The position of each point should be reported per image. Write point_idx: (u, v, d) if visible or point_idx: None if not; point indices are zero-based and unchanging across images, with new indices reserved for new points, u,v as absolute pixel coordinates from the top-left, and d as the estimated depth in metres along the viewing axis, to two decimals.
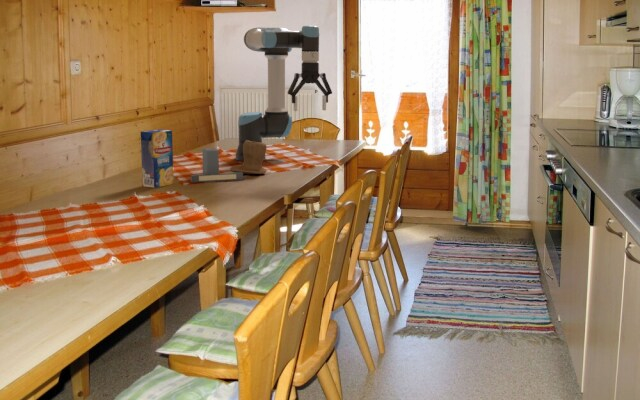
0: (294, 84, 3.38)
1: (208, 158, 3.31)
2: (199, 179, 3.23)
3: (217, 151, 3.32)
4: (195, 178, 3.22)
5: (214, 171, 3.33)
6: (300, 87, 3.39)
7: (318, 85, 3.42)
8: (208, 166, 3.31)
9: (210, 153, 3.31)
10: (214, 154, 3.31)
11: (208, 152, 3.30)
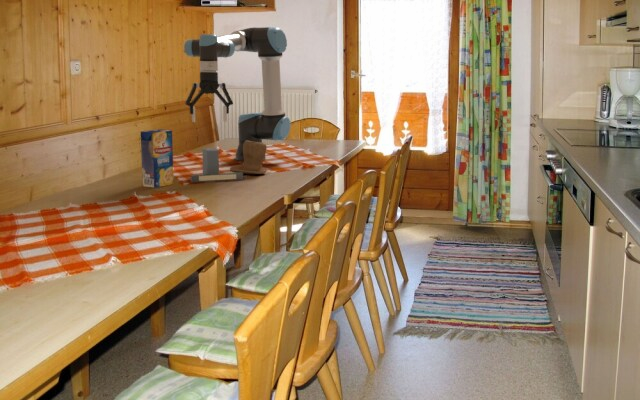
0: (191, 94, 3.26)
1: (208, 158, 3.31)
2: (199, 179, 3.23)
3: (217, 151, 3.32)
4: (195, 178, 3.22)
5: (214, 171, 3.33)
6: (198, 97, 3.28)
7: (218, 95, 3.31)
8: (208, 166, 3.31)
9: (210, 153, 3.31)
10: (214, 154, 3.31)
11: (208, 152, 3.30)
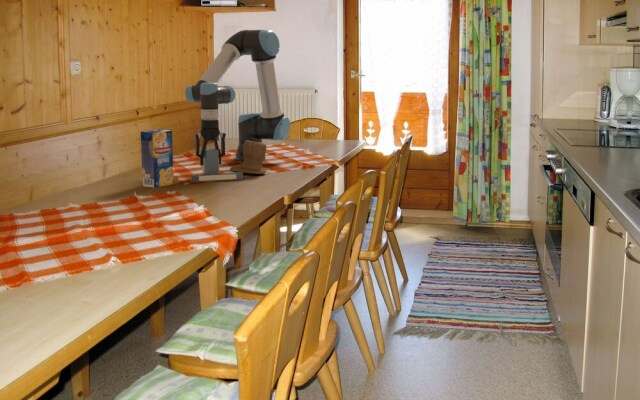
0: (198, 146, 3.31)
1: (208, 158, 3.31)
2: (199, 179, 3.23)
3: (217, 151, 3.32)
4: (195, 178, 3.22)
5: (214, 171, 3.33)
6: (204, 147, 3.33)
7: (214, 144, 3.34)
8: (208, 166, 3.31)
9: (210, 153, 3.31)
10: (214, 154, 3.31)
11: (208, 152, 3.30)
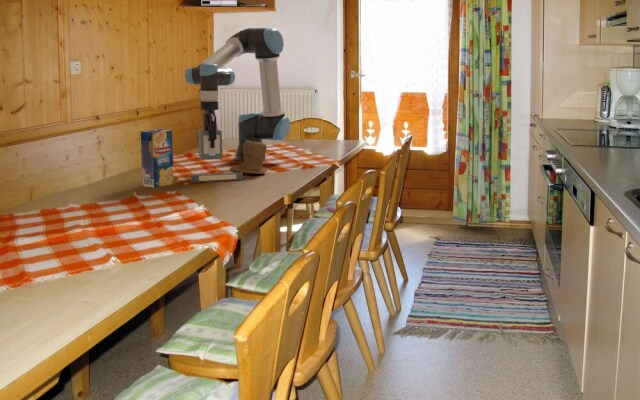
0: (204, 125, 3.38)
1: None
2: (199, 179, 3.23)
3: (200, 132, 3.30)
4: (195, 178, 3.22)
5: (200, 152, 3.33)
6: (205, 128, 3.35)
7: None
8: (199, 146, 3.35)
9: (199, 133, 3.33)
10: (200, 135, 3.32)
11: (198, 132, 3.34)
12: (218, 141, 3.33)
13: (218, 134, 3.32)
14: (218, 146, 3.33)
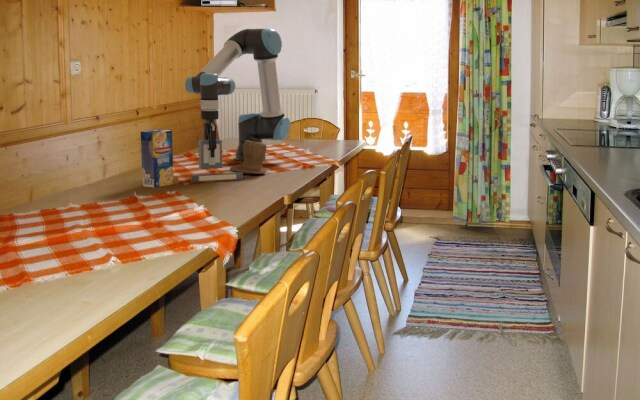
0: (204, 134, 3.38)
1: None
2: (199, 179, 3.23)
3: (200, 142, 3.31)
4: (195, 178, 3.22)
5: (200, 161, 3.34)
6: (205, 137, 3.36)
7: (209, 135, 3.32)
8: (199, 155, 3.36)
9: (199, 143, 3.34)
10: (200, 144, 3.32)
11: None
12: (218, 150, 3.34)
13: (218, 144, 3.33)
14: (218, 155, 3.34)
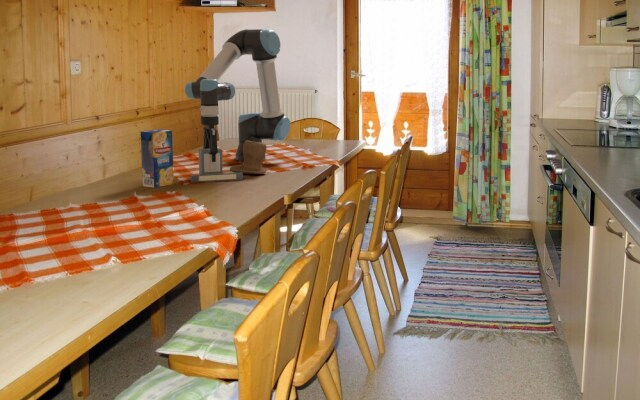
0: None
1: (199, 156, 3.36)
2: (199, 179, 3.23)
3: (201, 151, 3.32)
4: (195, 178, 3.22)
5: (200, 170, 3.35)
6: (205, 141, 3.37)
7: None
8: (199, 164, 3.37)
9: (199, 152, 3.35)
10: (200, 153, 3.33)
11: (199, 150, 3.35)
12: (218, 159, 3.35)
13: (218, 153, 3.34)
14: (218, 164, 3.35)
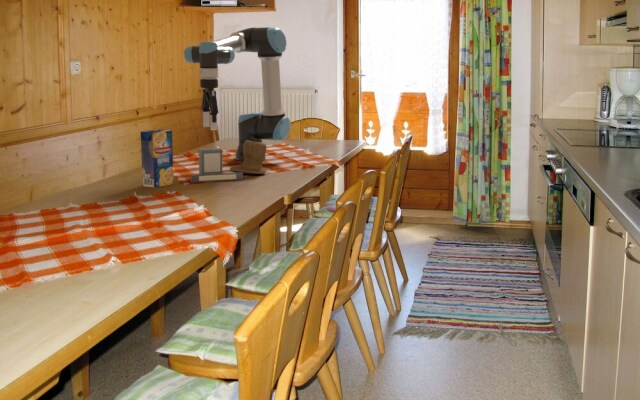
0: (202, 100, 3.38)
1: (199, 156, 3.36)
2: (199, 179, 3.23)
3: (201, 151, 3.32)
4: (195, 178, 3.22)
5: (200, 170, 3.35)
6: (204, 103, 3.35)
7: None
8: (199, 164, 3.37)
9: (199, 152, 3.35)
10: (200, 153, 3.33)
11: (199, 150, 3.35)
12: (218, 159, 3.35)
13: (218, 153, 3.34)
14: (218, 164, 3.35)
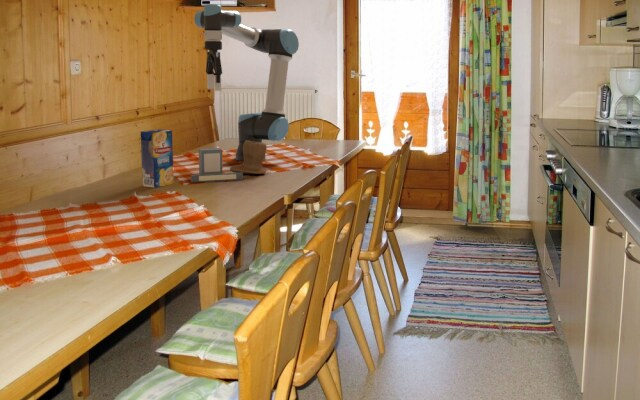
0: None
1: (199, 156, 3.36)
2: (199, 179, 3.23)
3: (201, 151, 3.32)
4: (195, 178, 3.22)
5: (200, 170, 3.35)
6: (208, 65, 3.45)
7: None
8: (199, 164, 3.37)
9: (199, 152, 3.35)
10: (200, 153, 3.33)
11: (199, 150, 3.35)
12: (218, 159, 3.35)
13: (218, 153, 3.34)
14: (218, 164, 3.35)
